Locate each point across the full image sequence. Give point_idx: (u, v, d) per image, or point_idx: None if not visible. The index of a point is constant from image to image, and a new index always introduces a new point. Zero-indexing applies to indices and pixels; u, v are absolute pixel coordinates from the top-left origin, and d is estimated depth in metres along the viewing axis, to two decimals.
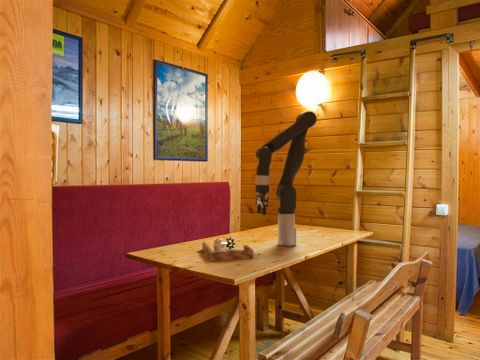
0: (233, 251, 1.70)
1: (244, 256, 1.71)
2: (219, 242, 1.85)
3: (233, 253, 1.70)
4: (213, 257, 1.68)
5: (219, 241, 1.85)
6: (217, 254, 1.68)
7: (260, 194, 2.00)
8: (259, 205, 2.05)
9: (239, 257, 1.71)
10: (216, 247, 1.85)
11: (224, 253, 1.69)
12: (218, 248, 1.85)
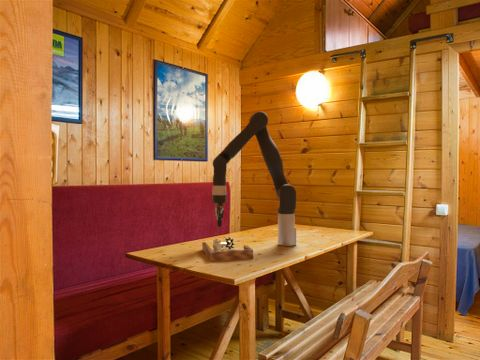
0: (233, 251, 1.70)
1: (244, 256, 1.71)
2: (218, 242, 1.85)
3: (233, 253, 1.70)
4: (213, 257, 1.68)
5: (218, 241, 1.85)
6: (217, 254, 1.68)
7: (217, 204, 1.97)
8: None
9: (239, 257, 1.71)
10: (215, 247, 1.84)
11: (224, 253, 1.69)
12: (217, 248, 1.85)
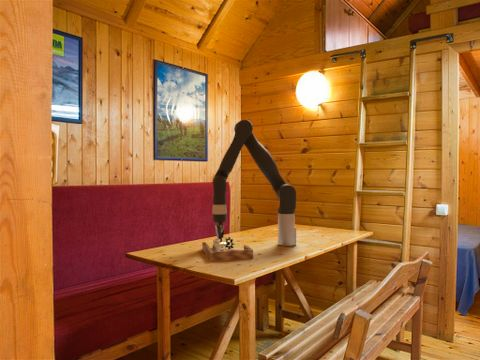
0: (233, 251, 1.70)
1: (244, 256, 1.71)
2: (218, 242, 1.85)
3: (233, 253, 1.70)
4: (213, 257, 1.68)
5: (218, 241, 1.85)
6: (217, 254, 1.68)
7: (217, 223, 1.97)
8: (219, 236, 1.98)
9: (239, 257, 1.71)
10: (215, 247, 1.84)
11: (224, 253, 1.69)
12: (217, 248, 1.84)
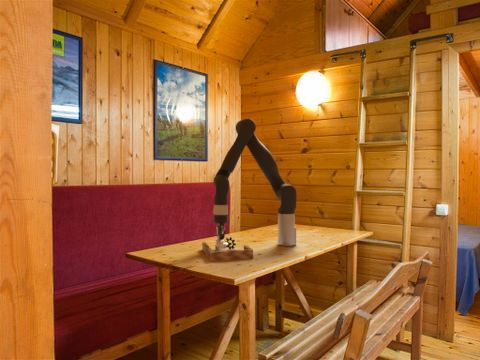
0: (233, 251, 1.70)
1: (244, 256, 1.71)
2: (221, 243, 1.82)
3: (233, 253, 1.70)
4: (213, 257, 1.68)
5: (221, 242, 1.82)
6: (217, 254, 1.68)
7: (218, 224, 1.92)
8: None
9: (239, 257, 1.71)
10: (218, 248, 1.82)
11: (224, 253, 1.69)
12: (220, 249, 1.82)
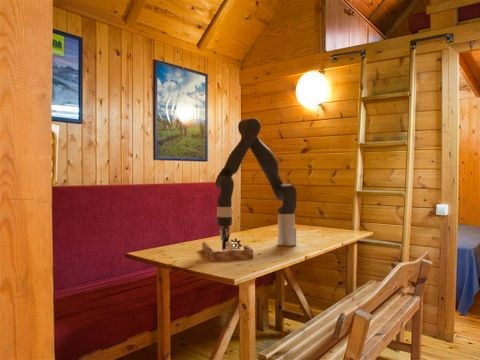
0: (233, 251, 1.70)
1: (244, 256, 1.71)
2: (232, 245, 1.77)
3: (233, 253, 1.70)
4: (213, 257, 1.68)
5: (232, 244, 1.77)
6: (217, 254, 1.68)
7: (222, 227, 1.83)
8: None
9: (239, 257, 1.71)
10: None
11: (224, 253, 1.69)
12: None
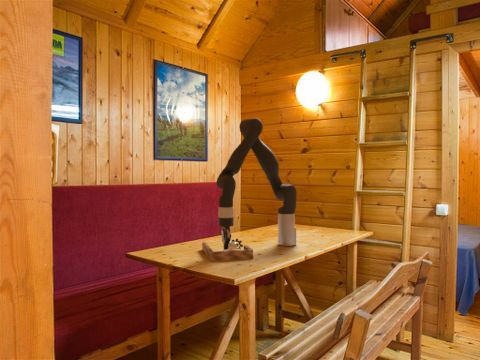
0: (233, 251, 1.70)
1: (244, 256, 1.71)
2: (235, 245, 1.77)
3: (233, 253, 1.70)
4: (213, 257, 1.68)
5: (235, 244, 1.77)
6: (217, 254, 1.68)
7: (224, 228, 1.81)
8: None
9: (239, 257, 1.71)
10: None
11: (224, 253, 1.69)
12: None
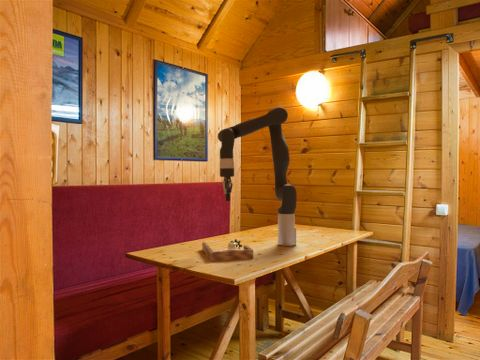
0: (233, 251, 1.70)
1: (244, 256, 1.71)
2: (235, 245, 1.76)
3: (233, 253, 1.70)
4: (213, 257, 1.68)
5: (235, 244, 1.76)
6: (217, 254, 1.68)
7: (225, 178, 1.91)
8: None
9: (239, 257, 1.71)
10: None
11: (224, 253, 1.69)
12: None
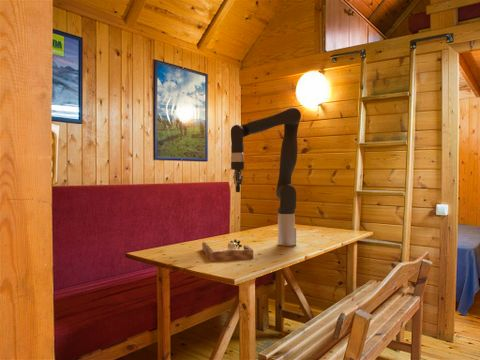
0: (233, 251, 1.70)
1: (244, 256, 1.71)
2: (234, 245, 1.76)
3: (233, 253, 1.70)
4: (213, 257, 1.68)
5: (235, 244, 1.76)
6: (217, 254, 1.68)
7: (236, 171, 2.06)
8: None
9: (239, 257, 1.71)
10: None
11: (224, 253, 1.69)
12: None
